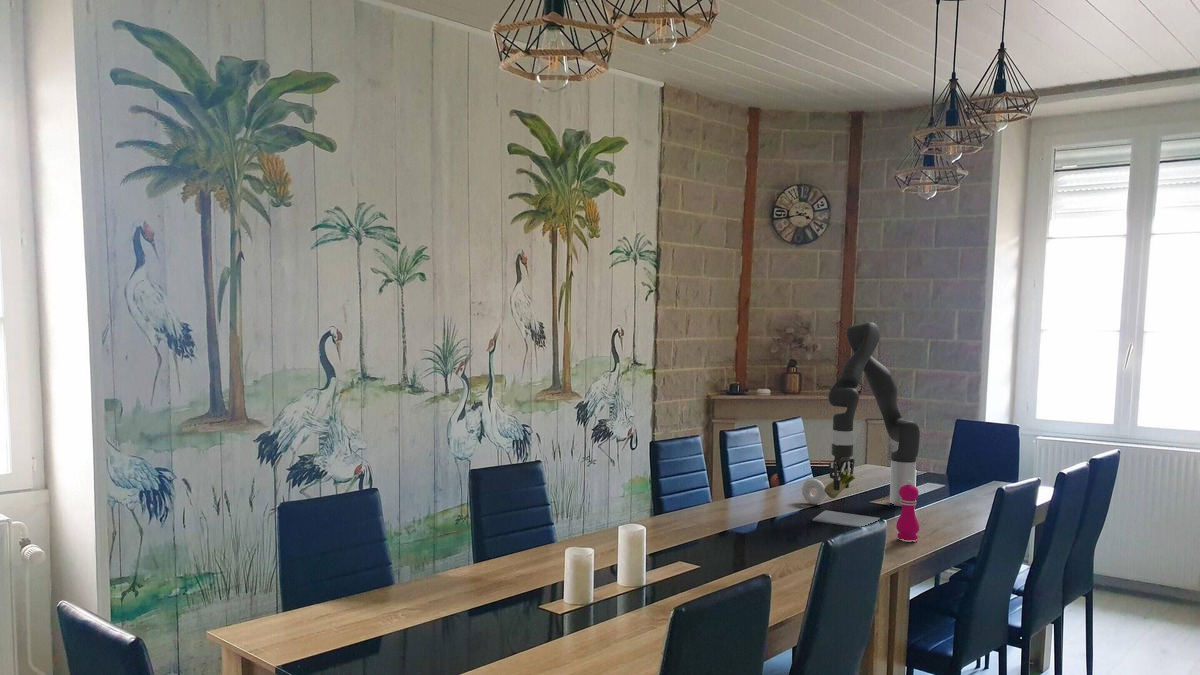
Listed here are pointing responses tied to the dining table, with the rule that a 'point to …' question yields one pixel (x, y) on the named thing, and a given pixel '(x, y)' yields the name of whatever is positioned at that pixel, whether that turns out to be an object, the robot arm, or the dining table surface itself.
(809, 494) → the donut
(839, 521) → the rubber mat
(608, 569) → the dining table surface
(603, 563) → the dining table surface
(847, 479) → the fennel bulb
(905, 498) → the pepper mill
